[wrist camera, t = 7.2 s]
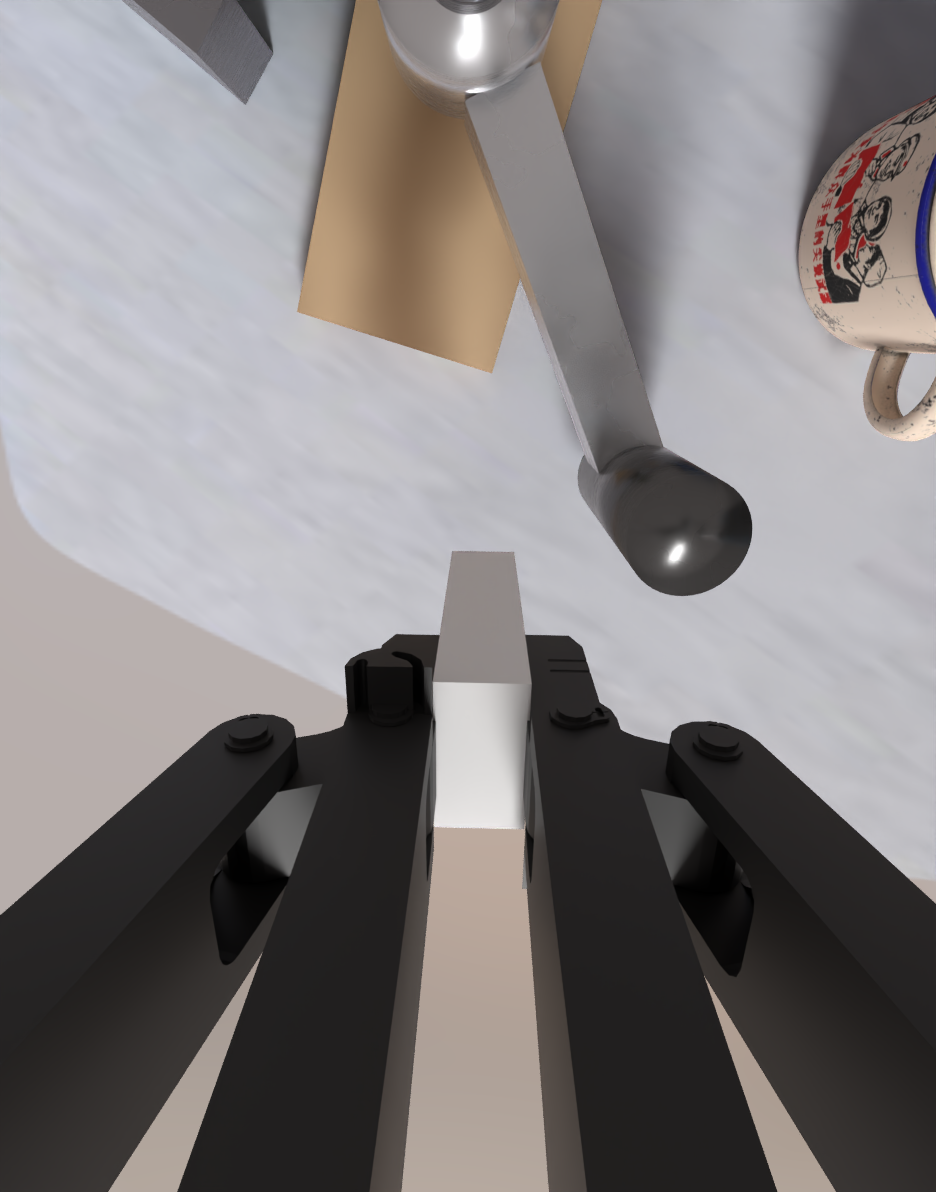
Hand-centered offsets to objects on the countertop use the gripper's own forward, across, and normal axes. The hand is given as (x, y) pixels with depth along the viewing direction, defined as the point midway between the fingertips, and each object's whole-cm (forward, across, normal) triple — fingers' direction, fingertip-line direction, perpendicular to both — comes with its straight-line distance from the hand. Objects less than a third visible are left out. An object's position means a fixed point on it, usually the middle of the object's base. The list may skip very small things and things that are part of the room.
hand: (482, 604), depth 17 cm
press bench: (+15, -1, +16) cm, 22 cm away
